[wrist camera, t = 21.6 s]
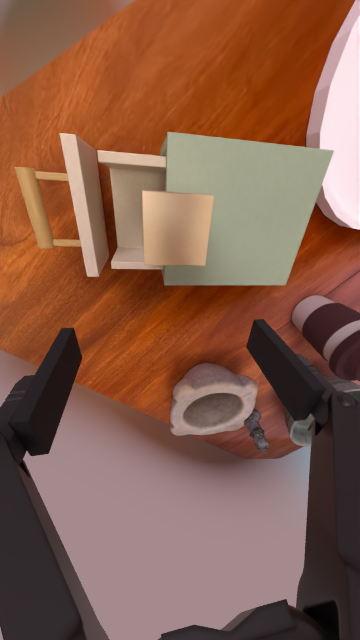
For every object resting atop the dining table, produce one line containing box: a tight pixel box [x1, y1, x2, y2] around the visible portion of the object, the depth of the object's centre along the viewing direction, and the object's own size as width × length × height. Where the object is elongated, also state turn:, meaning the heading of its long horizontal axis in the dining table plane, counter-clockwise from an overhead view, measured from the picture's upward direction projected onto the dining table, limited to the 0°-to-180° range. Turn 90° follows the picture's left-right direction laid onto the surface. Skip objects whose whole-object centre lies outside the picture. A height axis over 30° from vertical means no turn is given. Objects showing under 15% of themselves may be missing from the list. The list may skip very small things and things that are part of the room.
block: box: [142, 190, 214, 266], centre depth 17 cm, size 5×5×5 cm
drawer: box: [15, 133, 166, 277], centre depth 23 cm, size 19×12×8 cm, turn 87°
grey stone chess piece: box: [244, 408, 269, 454], centre depth 51 cm, size 6×6×12 cm
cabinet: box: [160, 132, 334, 285], centre depth 24 cm, size 15×13×10 cm
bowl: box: [284, 376, 360, 446], centre depth 51 cm, size 21×21×10 cm
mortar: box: [170, 363, 258, 436], centre depth 43 cm, size 17×17×9 cm
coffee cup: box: [292, 295, 360, 381], centre depth 34 cm, size 10×10×15 cm
